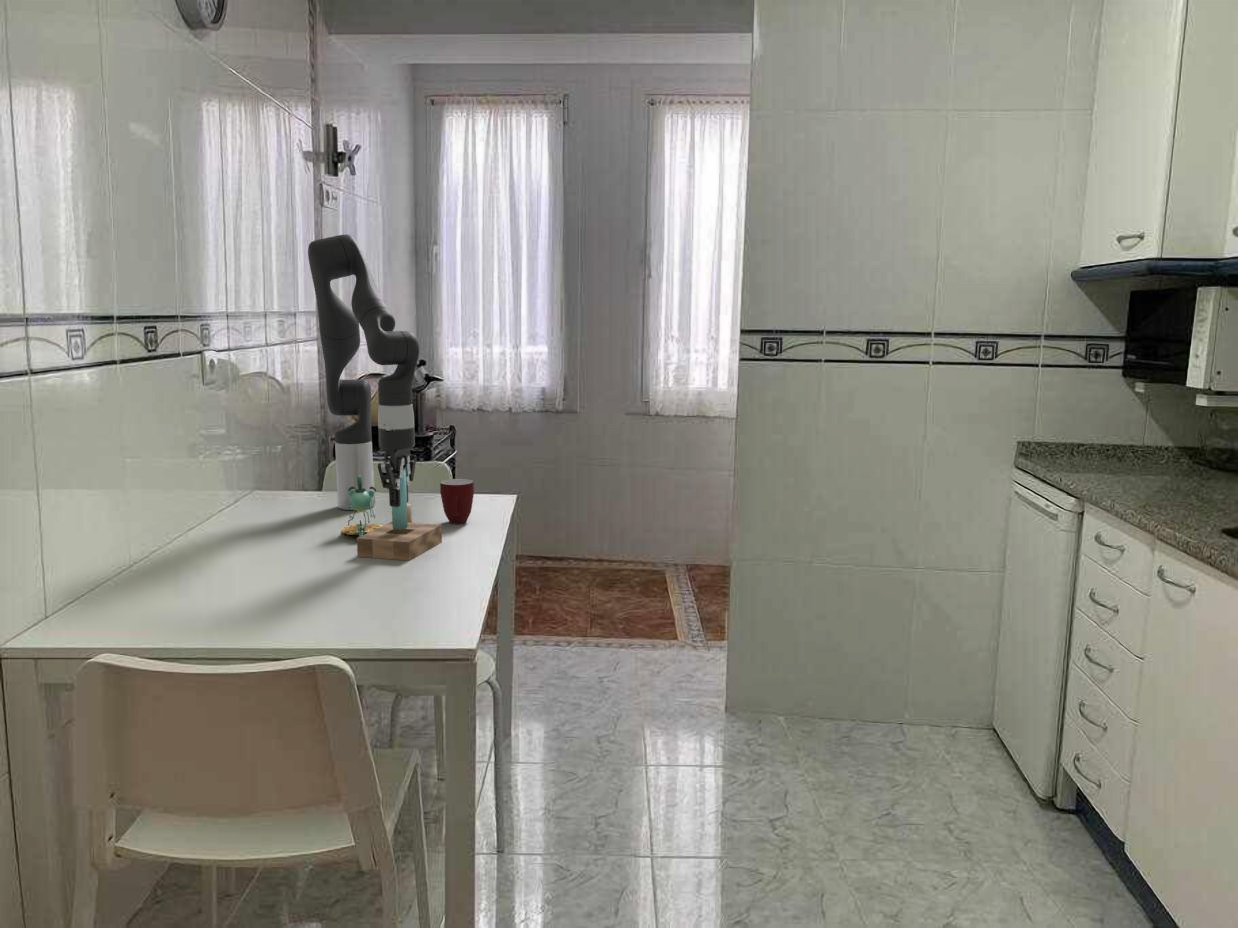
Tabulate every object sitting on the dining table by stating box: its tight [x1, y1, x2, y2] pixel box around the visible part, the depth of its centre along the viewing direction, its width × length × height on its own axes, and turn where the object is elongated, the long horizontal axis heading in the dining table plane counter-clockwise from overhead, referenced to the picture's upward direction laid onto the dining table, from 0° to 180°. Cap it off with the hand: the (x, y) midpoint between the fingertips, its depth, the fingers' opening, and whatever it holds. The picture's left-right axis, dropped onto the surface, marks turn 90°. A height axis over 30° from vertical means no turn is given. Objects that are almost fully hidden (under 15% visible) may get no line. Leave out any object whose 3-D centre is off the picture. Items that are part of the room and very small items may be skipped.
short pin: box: [407, 503, 413, 523], centre depth 223 cm, size 3×3×7 cm
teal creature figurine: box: [340, 476, 383, 541], centre depth 224 cm, size 10×18×15 cm, turn 179°
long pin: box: [391, 468, 408, 529], centre depth 209 cm, size 3×3×13 cm
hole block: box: [356, 521, 443, 562], centre depth 211 cm, size 16×12×4 cm
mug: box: [439, 478, 475, 525], centre depth 234 cm, size 11×8×10 cm
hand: (399, 504), depth 209 cm, fingers closed on long pin, 3 cm apart
